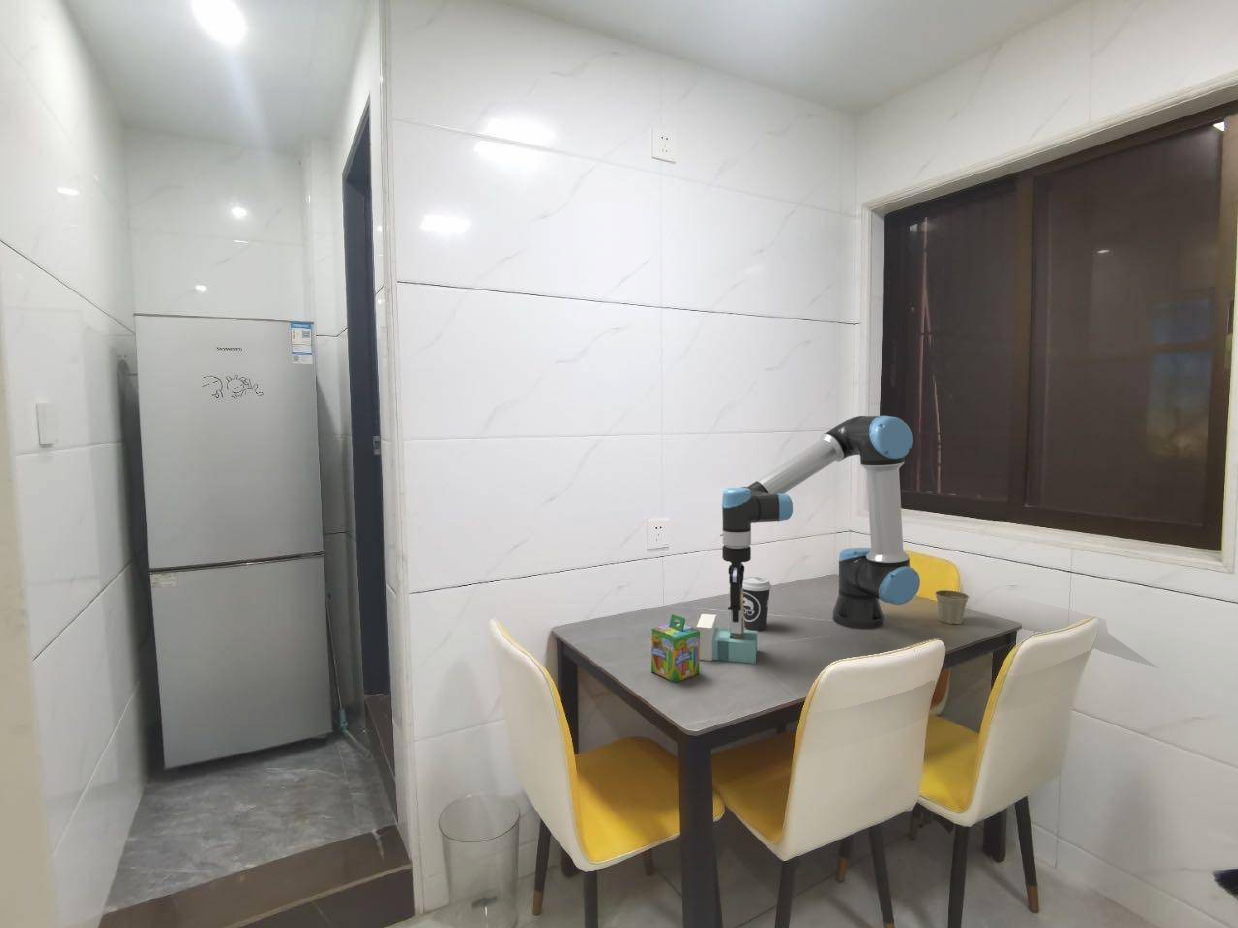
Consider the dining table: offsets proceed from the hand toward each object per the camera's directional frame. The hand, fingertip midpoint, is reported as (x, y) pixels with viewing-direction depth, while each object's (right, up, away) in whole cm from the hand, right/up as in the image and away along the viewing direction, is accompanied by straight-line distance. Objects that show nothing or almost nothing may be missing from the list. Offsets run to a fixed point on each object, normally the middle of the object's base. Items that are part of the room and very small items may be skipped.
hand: (736, 629), depth 166 cm
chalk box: (-18, -9, -10) cm, 22 cm away
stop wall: (-8, -7, +3) cm, 11 cm away
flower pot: (+72, -4, +24) cm, 76 cm away
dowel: (0, -3, 0) cm, 3 cm away
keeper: (0, -7, +1) cm, 7 cm away
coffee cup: (+10, -5, +22) cm, 24 cm away
